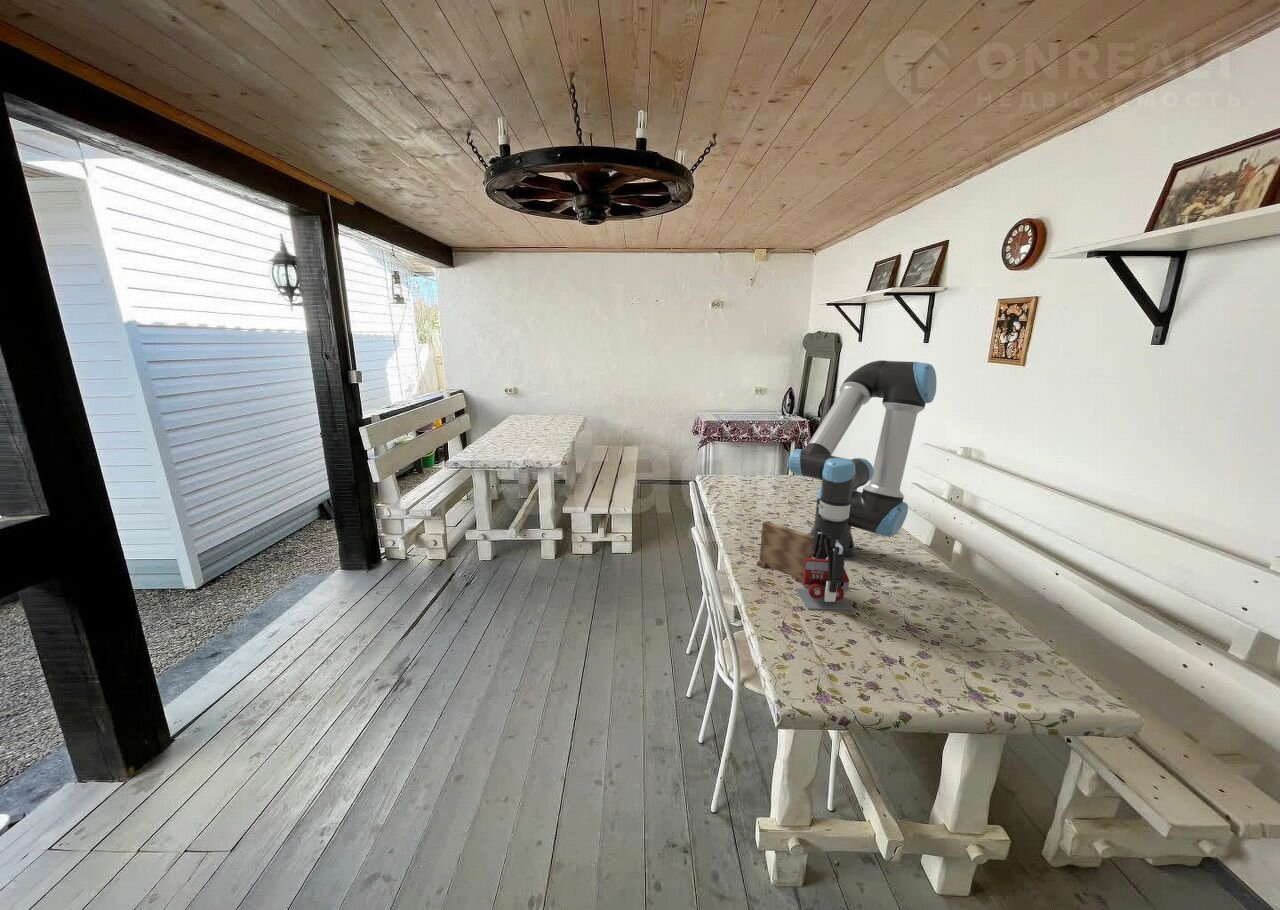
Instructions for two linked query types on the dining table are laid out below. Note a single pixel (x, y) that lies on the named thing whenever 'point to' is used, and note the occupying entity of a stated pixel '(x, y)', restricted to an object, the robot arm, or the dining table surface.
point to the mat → (821, 602)
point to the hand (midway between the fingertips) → (823, 592)
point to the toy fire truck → (821, 578)
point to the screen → (785, 549)
